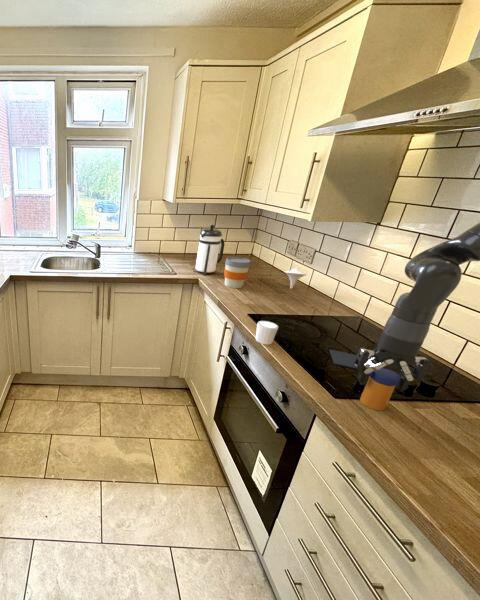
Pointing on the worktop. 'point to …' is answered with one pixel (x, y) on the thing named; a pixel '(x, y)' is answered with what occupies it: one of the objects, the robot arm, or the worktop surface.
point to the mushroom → (294, 276)
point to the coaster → (343, 359)
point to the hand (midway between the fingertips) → (379, 386)
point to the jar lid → (385, 377)
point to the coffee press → (209, 250)
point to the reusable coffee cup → (236, 271)
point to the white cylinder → (266, 332)
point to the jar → (376, 394)
